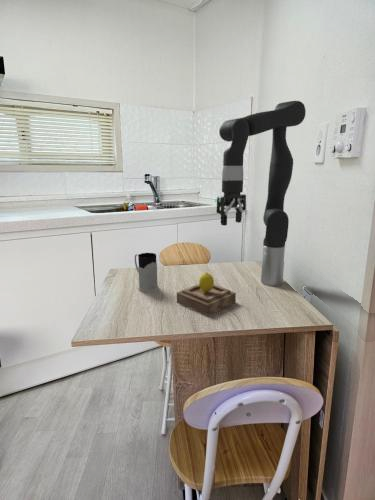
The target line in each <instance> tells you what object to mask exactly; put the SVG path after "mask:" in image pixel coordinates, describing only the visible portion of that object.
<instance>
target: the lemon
mask: <svg viewBox="0 0 375 500" xmlns="http://www.w3.org/2000/svg"><path fill="white" fill-rule="evenodd" d="M198 281H199V282H198V284H199V286H200V288H201V290H203V291H205V293H207V292H208V291H210V290H211V289H212V288H213V285H215V284H214V283H215V282H214V281H215V280H214V277H213V276H212V274H210V273H208V272H205V273H203V274H202V275H201V276H200V278H199V280H198Z"/></svg>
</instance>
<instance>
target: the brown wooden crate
mask: <svg viewBox="0 0 375 500" xmlns="http://www.w3.org/2000/svg"><path fill="white" fill-rule="evenodd" d="M236 296H237V294H236V292H235V291H231V290H230V289H227V288H224V287H222V286H218V285H217V284H214V285H213V288H212V289H211V290H210V291H208V292H207V293H205V291H203V290H201V288H200V286H199V283H198V284H196V285H193V286H191V287H187V288H185V289H181V291H178V292H176V303H178V304H179V305H182V306H185V307H187V308H189V309H191V310H193V311H196V312H197V313H200V314H203V315H205V316H210V315H212V314H214V313H216V312H218V311H220V310H223V309H224V308H227V307H229V306H231V305H233V304H235V303H236V300H237V299H236Z"/></svg>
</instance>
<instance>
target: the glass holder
mask: <svg viewBox="0 0 375 500" xmlns="http://www.w3.org/2000/svg"><path fill="white" fill-rule="evenodd" d="M137 257H138V260H137ZM137 261H138V264H137ZM134 265H135V269H136V270H137V273H138V291H139V292H142V293H154V292H156V291H158V290H159V285H158V263H157V253H153V252H143V253H140V254H138V253H136V254H135V255H134Z"/></svg>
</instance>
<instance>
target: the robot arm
mask: <svg viewBox="0 0 375 500" xmlns="http://www.w3.org/2000/svg"><path fill="white" fill-rule="evenodd" d="M306 110H307V109H306V107H305V104H304V103H303V102H302V101H300V100H290V101H285V102H284V101H283V102H280V103H277V104H276V106H275V107H274V110H267V111H261V112H255V113H252V114H249V115H246V116H243V117H239V118H233V119H228V120H224V121H223V122H222V123H221V125H220V126H219V136H220V138H221V139H222V140H223V141H225V142H231V144H230V146H229V147H228V148H226V149H225V150H224V151H223V157H222V158H223V159H222V160H223V161H222V173H221V176H222V177H221V193H223V196H220V195H219V196H217V197H216V214H218V215H220V224H221V226H224V227H225V226H227V225H228V213H229V211H231V209H234V210H235V222H236V223H238V224H239V223H242V217H243V212H244V211H246V210H247V194H245V193H243V192H244V153H245V149H246V146H247V144H248V143H247V142H248V140H249V137H251V136H256V135H260V134H262V133H264V132H268V131H271V130H272V143H271V152H270V153H271V155H270V161H269V162H270V163H269V172H268V185H267V198H266V203H265V204H266V205H265V208H264V212H263V223H264V225H265V236H264V238H263V242H262V245H263V246H262V257H261V259H262V261H261V275H260V276H261V278H260V282H261V284H263V285H265V286H269V287H270V286H271V287H274V286H276V287H278V286H280V285H282V284H283V281H284V268H285V251H286V249H285V248H286V243H287V238H288V233H289V232H288V231H289V223H290V221H289V215H288V214H287V213H286V212H285V210H284V207H285V205H284V204H285V196H286V194H287V190H288V189H289V186H290V184H291V181H292V175H293V170H294V169H293V167H294V158H293V155H292V153H291V150H290V148H289V145H288V143H287V128H289V127H290V128H291V127H297V126H298V125H300V124H302V123H303V122H304V119H305V118H306ZM242 193H243V194H242Z"/></svg>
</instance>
